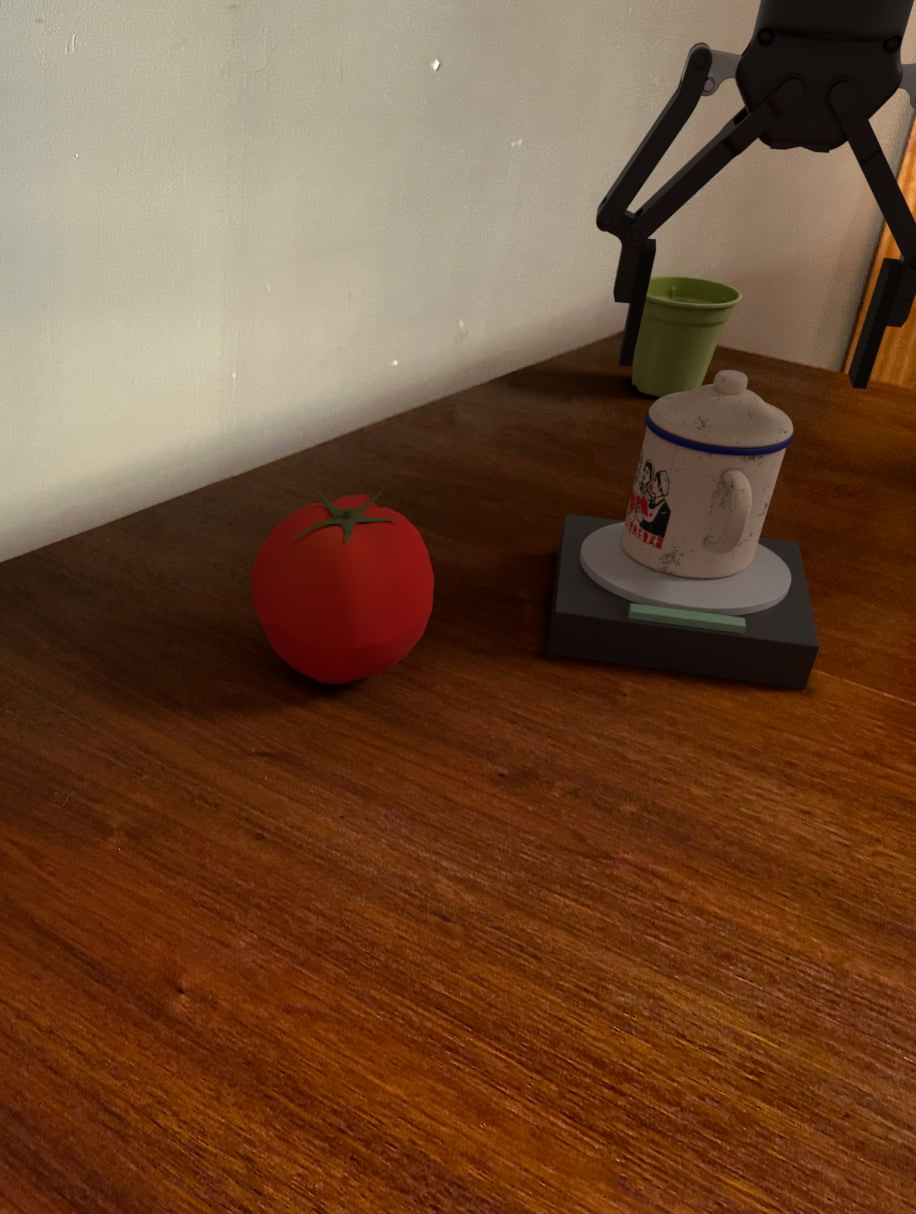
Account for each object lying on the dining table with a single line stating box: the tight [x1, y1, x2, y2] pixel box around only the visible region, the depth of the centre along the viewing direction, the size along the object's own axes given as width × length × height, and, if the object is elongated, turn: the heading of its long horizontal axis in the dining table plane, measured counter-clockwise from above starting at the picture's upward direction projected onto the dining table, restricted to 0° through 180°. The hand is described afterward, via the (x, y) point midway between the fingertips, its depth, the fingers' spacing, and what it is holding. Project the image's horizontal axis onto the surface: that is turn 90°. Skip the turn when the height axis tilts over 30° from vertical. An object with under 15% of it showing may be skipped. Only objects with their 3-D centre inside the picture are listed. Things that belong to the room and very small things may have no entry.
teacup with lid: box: [621, 369, 795, 578], centre depth 90 cm, size 12×9×12 cm
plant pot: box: [631, 275, 743, 398], centre depth 129 cm, size 9×9×9 cm
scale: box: [546, 513, 820, 690], centre depth 95 cm, size 16×16×4 cm
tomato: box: [250, 490, 435, 686], centre depth 86 cm, size 11×13×10 cm
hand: (739, 370), depth 86 cm, fingers open, 13 cm apart
